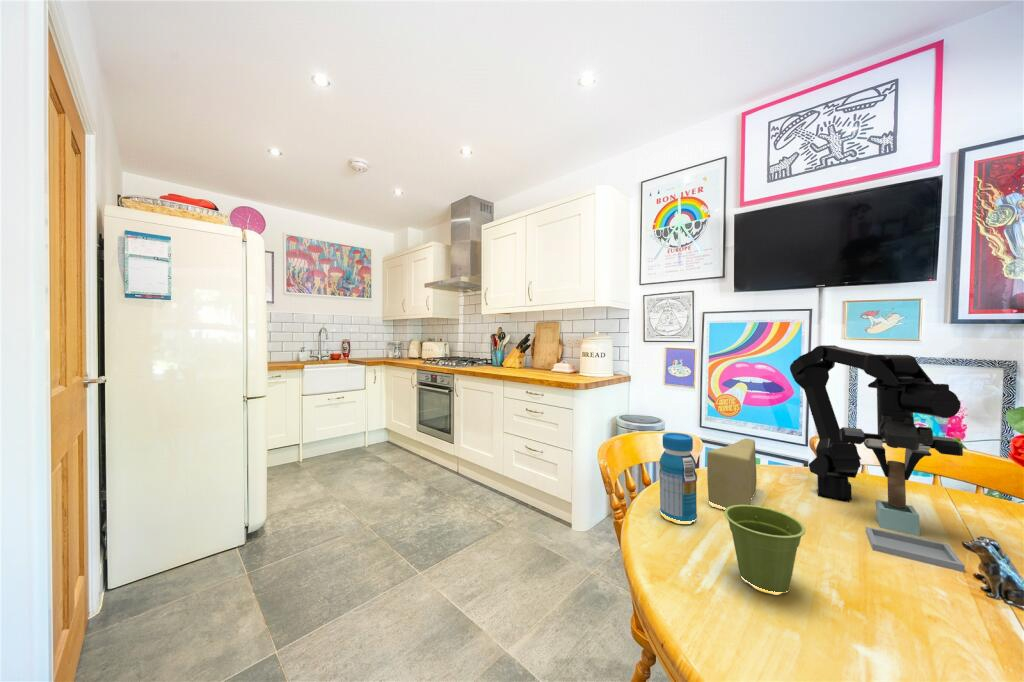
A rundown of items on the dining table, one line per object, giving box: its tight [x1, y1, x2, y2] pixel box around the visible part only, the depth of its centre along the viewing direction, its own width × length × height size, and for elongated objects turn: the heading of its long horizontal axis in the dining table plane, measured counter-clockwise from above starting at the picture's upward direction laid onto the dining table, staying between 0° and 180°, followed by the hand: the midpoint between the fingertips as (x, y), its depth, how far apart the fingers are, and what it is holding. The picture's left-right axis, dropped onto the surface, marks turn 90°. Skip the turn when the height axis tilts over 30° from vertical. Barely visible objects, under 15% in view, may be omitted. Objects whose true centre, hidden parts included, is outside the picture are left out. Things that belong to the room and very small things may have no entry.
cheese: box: [706, 438, 758, 508], centre depth 99 cm, size 22×10×15 cm, turn 132°
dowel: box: [886, 460, 907, 509], centre depth 83 cm, size 3×3×10 cm
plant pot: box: [723, 504, 807, 592], centre depth 64 cm, size 12×12×11 cm
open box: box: [875, 498, 921, 537], centre depth 83 cm, size 6×6×5 cm
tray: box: [865, 526, 966, 573], centre depth 73 cm, size 12×9×2 cm
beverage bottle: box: [658, 432, 698, 521], centre depth 89 cm, size 8×8×20 cm
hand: (896, 478), depth 83 cm, fingers closed on dowel, 3 cm apart
